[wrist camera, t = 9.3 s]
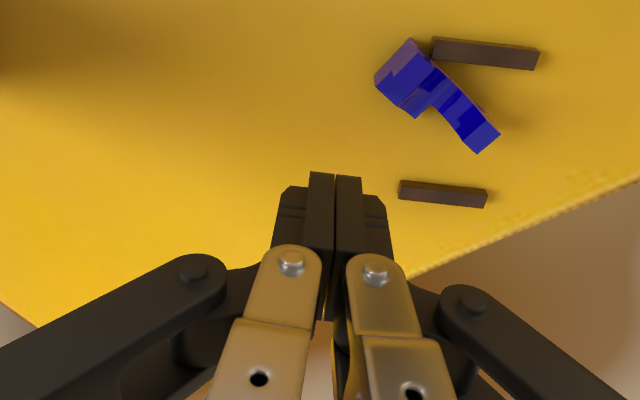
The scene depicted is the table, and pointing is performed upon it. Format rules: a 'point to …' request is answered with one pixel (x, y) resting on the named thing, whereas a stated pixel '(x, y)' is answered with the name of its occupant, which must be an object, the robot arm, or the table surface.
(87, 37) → the table surface
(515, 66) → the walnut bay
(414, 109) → the cable holder
